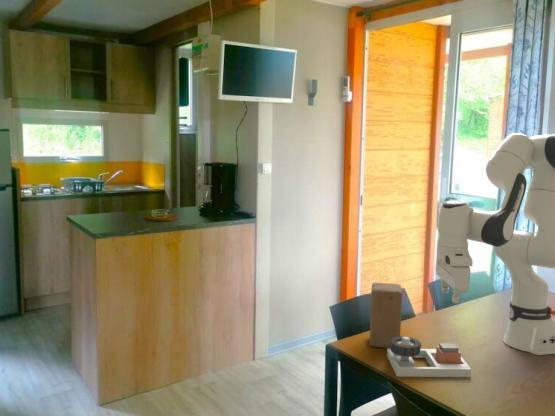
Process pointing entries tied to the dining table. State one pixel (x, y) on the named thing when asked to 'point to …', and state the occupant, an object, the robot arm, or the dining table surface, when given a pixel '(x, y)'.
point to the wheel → (405, 347)
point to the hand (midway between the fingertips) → (450, 297)
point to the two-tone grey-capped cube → (448, 354)
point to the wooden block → (385, 314)
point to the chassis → (407, 367)
